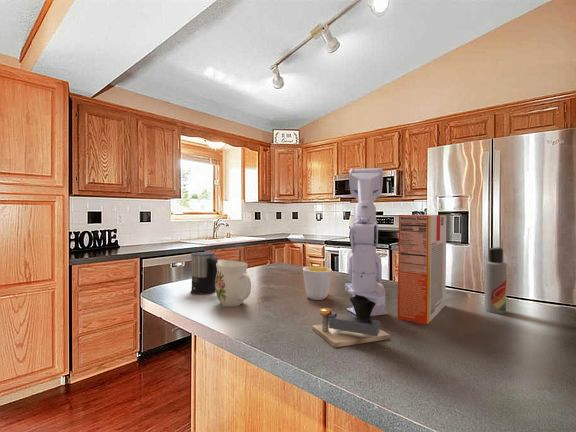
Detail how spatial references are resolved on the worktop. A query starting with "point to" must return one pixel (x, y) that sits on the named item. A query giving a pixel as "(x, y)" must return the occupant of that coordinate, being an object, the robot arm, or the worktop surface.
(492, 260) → the lotion bottle
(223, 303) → the pitcher
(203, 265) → the milk frother
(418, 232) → the cereal box
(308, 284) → the mug
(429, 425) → the worktop surface
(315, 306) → the worktop surface
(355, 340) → the tan piece
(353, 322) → the swing bar
